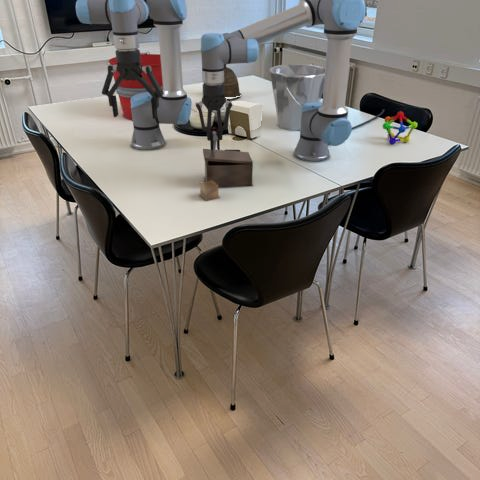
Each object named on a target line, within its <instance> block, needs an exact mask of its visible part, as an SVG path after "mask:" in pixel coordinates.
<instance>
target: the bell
mask: <svg viewBox="0 0 480 480" xmlns="http://www.w3.org/2000/svg"><path fill="white" fill-rule="evenodd" d="M238 79H239V78H238V77H237V75H236V73H235V72H234V70H232V69H231V68H230V67H227V64H224V82H223V84H224V96H225V97H236V96H240V95H241V96H242V93H241V92H240V83H239V80H238Z"/></svg>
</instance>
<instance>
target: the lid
mask: <svg viewBox="0 0 480 480" xmlns="http://www.w3.org/2000/svg"><path fill="white" fill-rule="evenodd" d="M212 132H213V150H211V148H202V155H203V159H204V162H205V161H217V162H231V163H244V164H254V161H253V159H252V157H251V154H250V152H249V151H241V150H240V151H227V150H228V149H220V150H218V149H216V148H217V141H218V137H217V131H215V130H212Z"/></svg>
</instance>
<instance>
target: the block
mask: <svg viewBox="0 0 480 480" xmlns="http://www.w3.org/2000/svg"><path fill="white" fill-rule="evenodd" d="M199 191H200V193H199V194H200V197H202V199H204V200H205V201H210V200H215V199H219V197H220V196H219V188H218V185H217V184H216V183H215V182H214V181H212V180H211V181H207V182H206V181H202V182H199Z"/></svg>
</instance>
